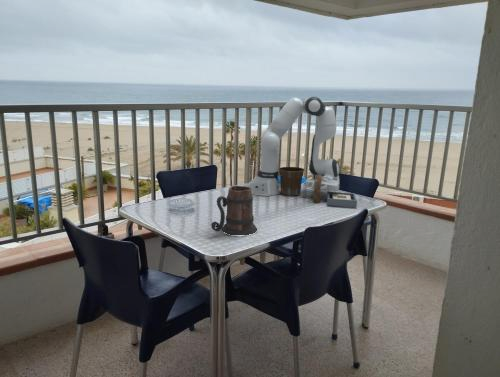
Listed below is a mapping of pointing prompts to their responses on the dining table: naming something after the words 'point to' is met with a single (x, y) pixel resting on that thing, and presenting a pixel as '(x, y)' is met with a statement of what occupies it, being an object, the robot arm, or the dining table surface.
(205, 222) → the dining table surface
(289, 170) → the plant pot
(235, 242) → the dining table surface
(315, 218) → the dining table surface
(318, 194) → the peg
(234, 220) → the tankard
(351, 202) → the tray
